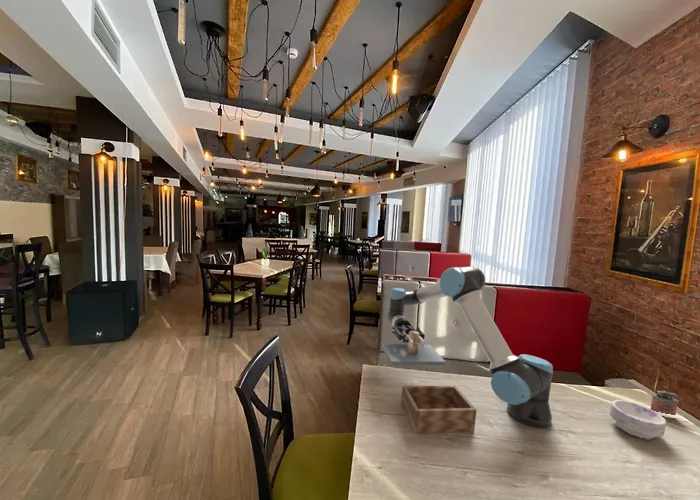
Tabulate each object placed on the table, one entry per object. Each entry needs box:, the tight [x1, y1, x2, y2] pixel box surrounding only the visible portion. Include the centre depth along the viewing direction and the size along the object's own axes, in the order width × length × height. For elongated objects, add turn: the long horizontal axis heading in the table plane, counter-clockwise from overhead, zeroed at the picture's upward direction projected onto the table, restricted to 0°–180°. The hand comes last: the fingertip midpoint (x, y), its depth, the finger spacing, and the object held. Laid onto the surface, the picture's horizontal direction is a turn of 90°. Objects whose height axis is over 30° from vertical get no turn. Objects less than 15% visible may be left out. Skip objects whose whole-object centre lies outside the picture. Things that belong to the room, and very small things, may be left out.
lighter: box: [650, 390, 679, 416], centre depth 128 cm, size 8×3×10 cm, turn 68°
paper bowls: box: [609, 399, 667, 440], centre depth 117 cm, size 15×15×8 cm
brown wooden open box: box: [400, 385, 477, 434], centre depth 117 cm, size 22×16×8 cm
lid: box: [381, 331, 446, 366], centre depth 137 cm, size 23×17×10 cm
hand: (417, 344), depth 131 cm, fingers closed on lid, 4 cm apart
